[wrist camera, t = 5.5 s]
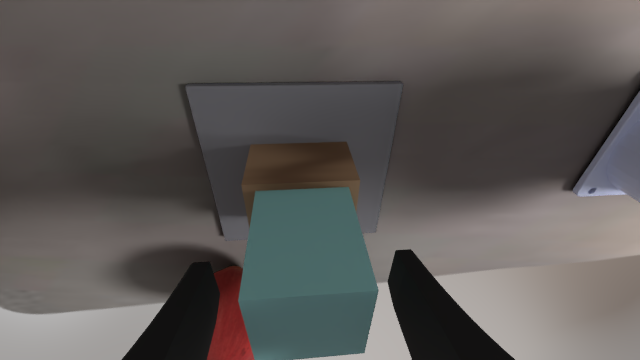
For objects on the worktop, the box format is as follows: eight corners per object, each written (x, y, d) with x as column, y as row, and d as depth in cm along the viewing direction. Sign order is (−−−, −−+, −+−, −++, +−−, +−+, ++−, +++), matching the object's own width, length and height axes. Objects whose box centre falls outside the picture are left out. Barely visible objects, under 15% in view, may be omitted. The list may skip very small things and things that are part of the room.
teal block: (343, 248, 15) (364, 352, 11) (264, 253, 14) (255, 362, 10) (349, 186, 12) (378, 290, 8) (255, 191, 12) (238, 301, 8)
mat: (400, 81, 14) (403, 83, 13) (374, 228, 20) (375, 232, 19) (187, 83, 13) (184, 86, 13) (226, 236, 19) (225, 240, 18)
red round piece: (280, 287, 23) (276, 412, 16) (207, 296, 22) (174, 425, 16) (267, 237, 19) (255, 370, 13) (181, 247, 19) (125, 387, 12)
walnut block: (346, 141, 15) (360, 180, 12) (341, 212, 18) (351, 256, 15) (250, 144, 14) (241, 185, 12) (261, 216, 17) (255, 262, 15)
